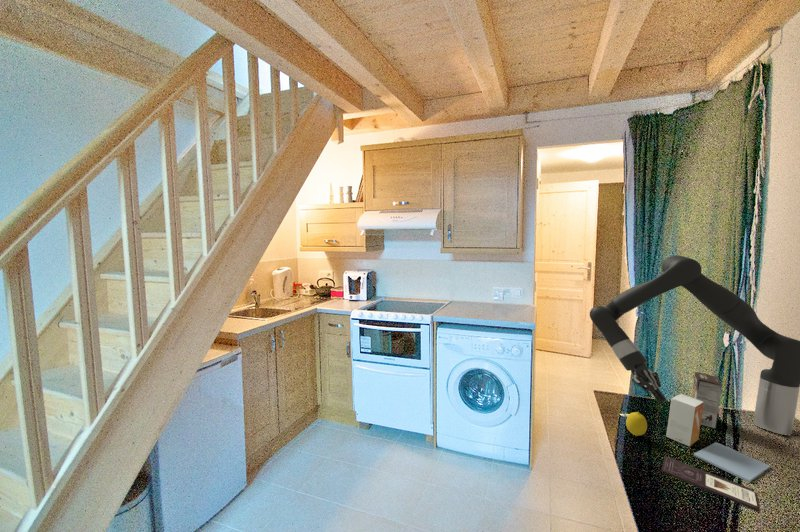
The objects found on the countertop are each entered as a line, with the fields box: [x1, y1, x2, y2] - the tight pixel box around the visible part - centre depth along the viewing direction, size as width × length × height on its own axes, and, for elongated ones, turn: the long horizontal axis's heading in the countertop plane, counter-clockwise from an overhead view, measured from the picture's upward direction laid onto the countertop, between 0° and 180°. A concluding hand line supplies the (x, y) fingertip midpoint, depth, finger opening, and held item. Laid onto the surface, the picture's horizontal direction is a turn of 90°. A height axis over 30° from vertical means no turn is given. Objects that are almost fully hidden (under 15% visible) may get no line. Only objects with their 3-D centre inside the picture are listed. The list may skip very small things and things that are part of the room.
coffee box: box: [691, 371, 723, 429], centre depth 121 cm, size 9×6×16 cm
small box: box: [665, 393, 704, 447], centre depth 108 cm, size 8×6×13 cm
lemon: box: [625, 411, 648, 437], centre depth 108 cm, size 6×6×8 cm
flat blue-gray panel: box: [693, 441, 771, 483], centre depth 97 cm, size 15×12×1 cm
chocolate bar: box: [661, 455, 758, 512], centre depth 88 cm, size 9×1×18 cm
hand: (663, 401), depth 113 cm, fingers closed
